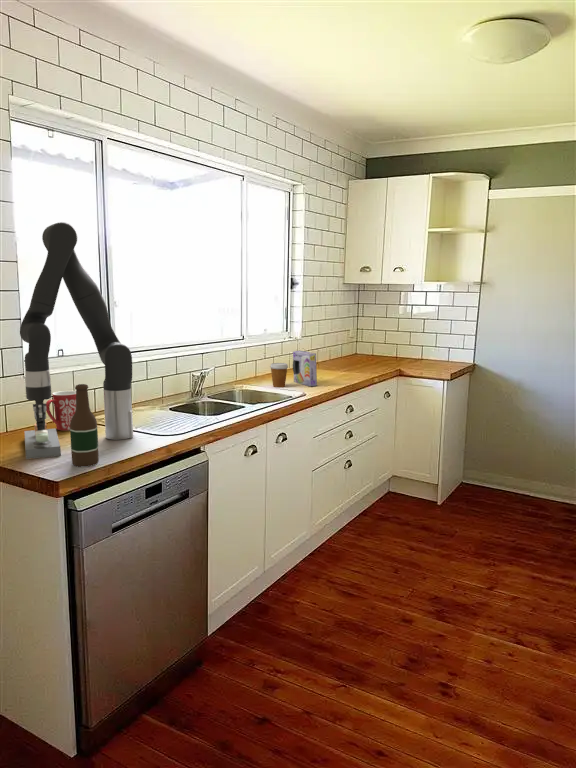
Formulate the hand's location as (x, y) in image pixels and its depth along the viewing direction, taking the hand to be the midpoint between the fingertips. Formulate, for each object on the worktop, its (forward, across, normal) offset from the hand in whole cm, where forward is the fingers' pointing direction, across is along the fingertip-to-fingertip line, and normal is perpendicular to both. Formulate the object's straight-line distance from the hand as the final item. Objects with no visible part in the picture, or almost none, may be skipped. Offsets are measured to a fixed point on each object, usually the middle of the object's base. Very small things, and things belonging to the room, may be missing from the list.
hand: (41, 436), depth 192 cm
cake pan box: (+4, +80, -134) cm, 157 cm away
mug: (+4, +25, -8) cm, 26 cm away
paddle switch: (+1, +6, 0) cm, 6 cm away
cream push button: (-1, -4, 0) cm, 4 cm away
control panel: (+4, +2, 0) cm, 4 cm away
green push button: (-1, -9, 0) cm, 9 cm away
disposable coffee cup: (+4, +78, -119) cm, 142 cm away
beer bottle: (+4, -22, -11) cm, 25 cm away
